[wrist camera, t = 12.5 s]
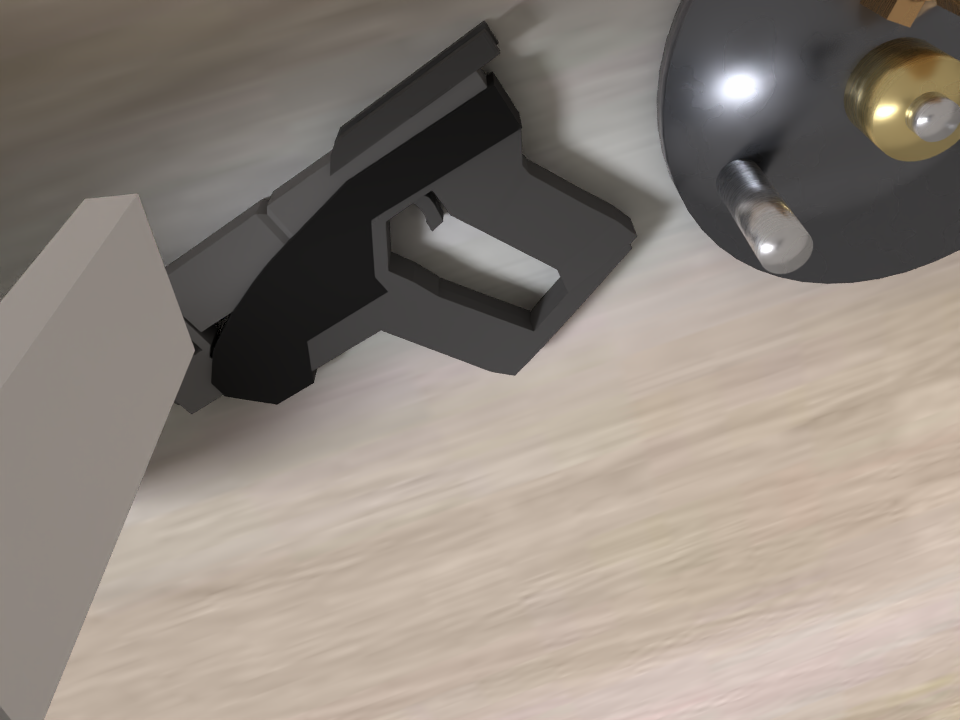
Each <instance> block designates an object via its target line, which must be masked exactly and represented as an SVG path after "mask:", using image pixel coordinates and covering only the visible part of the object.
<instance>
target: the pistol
mask: <svg viewBox="0 0 960 720" xmlns="http://www.w3.org/2000/svg"><path fill="white" fill-rule="evenodd" d="M497 44H498V40H497V39H496V37H495V36H494V34H493V33H492V31H491V30H490V28H489V27H488V25H487V24H486V22H485V21H483V22H481V23H480V24H479V25H477V26H476V27H475V28H473V29H472V30H471V31H469V32H468V33H467V34H465V35H464V36H463V37H461V38H460V39H459V40H457V41H456V42H454V43H453V44H452V45H450V46H449V47H448V48H446V49H445V50H444V51H442V52H441V53H440V54H438V55H437V56H436V57H434V58H433V59H432V60H430V61H429V62H428V63H426V64H425V65H424V66H422V67H421V68H420V69H418V70H417V71H415V72H414V73H413V74H411V75H410V76H409V77H407V78H406V79H405V80H403V81H402V82H401V83H399V84H398V85H397V86H395V87H394V88H393V89H391V90H390V91H389V92H387V93H386V94H385V95H383V96H382V97H381V98H379V99H378V100H376V101H375V102H374V103H372V104H371V105H370V106H368V107H367V108H366V109H364V110H363V111H362V112H360V113H359V114H358V115H356V116H355V117H354V118H352V119H351V120H350V121H348V122H347V123H346V124H344V125H343V126H342V127H340V130H339V132H338V135H337V137H336V140H335V143H334V147H333V149H332V151H330V152H329V153H327V154H326V155H324V156H323V157H322V158H320V159H319V160H317V161H316V162H314V163H313V164H312V165H310V166H309V167H307V168H306V169H305V170H303V171H302V172H300V173H299V174H297V175H296V176H295V177H293V178H292V179H290V180H289V181H287V182H286V183H285V184H283V185H282V186H280V187H279V188H278V189H276V190H275V191H273V193H272V195H271V198H270V200H263V199H262V200H260V201H259V202H258V203H256V204H255V205H253V206H252V207H251V208H249V209H248V210H246V211H245V212H243V213H242V214H241V215H239V216H238V217H236V218H235V219H233V220H232V221H231V222H229V223H228V224H226V225H225V226H224V227H222V228H221V229H219V230H218V231H216V232H215V233H214V234H212V235H211V236H209V237H208V238H206V239H205V240H204V241H202V242H201V243H199V244H198V245H197V246H195V247H194V248H192V249H191V250H189V251H188V252H187V253H185V254H184V255H182V256H181V257H180V258H178V259H177V260H175V261H174V262H172V263H171V264H170V265H168V266H167V267H165V269H166V272H167V275H168V277H169V280H170V283H171V286H172V288H173V291H174V294H175V297H176V299H177V302H178V305H179V308H180V310H181V313H182V316H183V319H184V321H185V324H186V327H187V330H188V332H189V335H190V338H191V341H192V343H193V346H194V349H195V351H194V354H193V356H192V359H191V361H190V364H189V366H188V368H187V371H186V373H185V376H184V378H183V381H182V383H181V386H180V388H179V390H178V393H177V395H176V398H175V400H174V403H175V404H177V405H181V406H182V407H183V408H185V409H186V410H187V411H188V412H189V413H191V414H193V413H194V412H196V411H198V410H199V409H201V408H203V407H204V406H206V405H208V404H209V403H211V402H212V401H214V400H216V399H217V398H219V397H221V396H222V395H224V396H226V397H233V398H239V399H245V400H252V401H258V402H264V403H271V404H279V403H281V402H282V401H284V400H286V399H287V398H289V397H291V396H293V395H294V394H296V393H298V392H299V391H301V390H303V389H304V388H306V387H308V386H309V385H311V384H313V383H314V379H315V375H316V371H317V368H318V367H320V366H322V365H323V364H325V363H327V362H328V361H330V360H332V359H333V358H335V357H337V356H338V355H340V354H342V353H344V352H345V351H347V350H349V349H350V348H352V347H354V346H355V345H357V344H359V343H360V342H362V341H364V340H365V339H367V338H369V337H370V336H372V335H374V334H376V333H377V332H379V331H381V330H382V331H384V332H387V333H390V334H392V335H395V336H398V337H400V338H403V339H406V340H408V341H411V342H414V343H416V344H419V345H422V346H424V347H427V348H429V349H432V350H435V351H437V352H440V353H443V354H445V355H448V356H451V357H453V358H456V359H459V360H461V361H464V362H467V363H469V364H472V365H475V366H477V367H480V368H483V369H485V370H488V371H491V372H496V373H502V374H508V375H514V376H515V375H516V374H517V373H518V372H519V371H520V370H521V369H522V368H523V367H524V366H525V365H526V364H527V363H528V362H529V361H530V360H531V359H532V358H533V357H534V356H535V355H536V354H537V353H538V352H539V350H540V349H541V348H542V347H543V346H544V345H545V344H546V343H547V342H548V341H549V340H550V339H551V338H552V336H553V335H554V334H555V333H556V332H557V331H558V330H559V329H560V328H561V327H562V326H563V325H564V323H565V322H566V321H567V320H568V319H569V318H570V317H571V316H572V315H573V314H574V313H575V311H576V310H577V309H578V308H579V307H580V306H581V305H582V304H583V303H584V302H585V301H586V299H587V298H588V297H589V296H590V295H591V294H592V293H593V291H594V290H595V289H596V288H597V287H598V286H599V285H600V284H601V282H602V281H603V280H604V279H605V278H606V277H607V276H608V275H609V273H610V272H611V271H612V270H613V269H614V268H615V267H616V266H617V265H618V263H619V262H620V261H621V260H622V259H623V258H624V257H625V256H626V254H627V253H628V252H629V251H630V250H631V249H632V246H631V242H632V241H633V240H634V239H635V238H636V237H637V235H636V232H635V230H634V227H633V224H632V222H631V219H630V218H629V217H628V216H626V215H625V214H624V213H622V212H621V211H619V210H618V209H617V208H615V207H614V206H613V205H611V204H609V203H607V202H605V201H603V200H601V199H599V198H598V197H596V196H594V195H592V194H590V193H588V192H586V191H584V190H582V189H580V188H579V187H577V186H575V185H573V184H571V183H570V182H568V181H566V180H564V179H562V178H561V177H559V176H557V175H555V174H553V173H552V172H550V171H548V170H546V169H544V168H542V167H541V166H539V165H537V164H535V163H533V162H532V161H530V160H528V159H526V158H525V156H524V155H523V154H522V140H521V128H522V125H521V119H520V114H519V112H518V110H517V109H516V108H515V106H514V104H513V103H512V101H511V100H510V98H509V96H508V95H507V93H506V92H505V90H504V89H503V87H502V85H501V84H500V82H499V81H498V79H497V77H496V76H495V74H494V73H493V72H492V73H490V74H489V75H487V76H486V75H485V74H484V72H483V71H482V69H481V67H482V66H483V65H485V64H486V63H488V62H489V61H490V60H492V59H493V58H494V57H496V56H497V55H499V54H500V50H499V48H498V47H497ZM431 190H432V191H433V192H434V193H435V195H436V196H437V197H438V199H439V200H440V201H441V203H442V204H443V205H444V206H445V208H446V209H447V211H448V212H449V214H450V215H451V216H453V217H455V218H457V219H459V220H461V221H463V222H465V223H467V224H469V225H471V226H473V227H475V228H477V229H479V230H481V231H483V232H485V233H487V234H489V235H491V236H493V237H495V238H497V239H498V240H500V241H502V242H504V243H506V244H508V245H510V246H512V247H514V248H516V249H518V250H520V251H522V252H524V253H526V254H528V255H530V256H532V257H534V258H536V259H538V260H540V261H542V262H544V263H546V264H547V265H549V266H551V267H553V268H555V269H557V270H558V272H559V274H560V276H561V277H560V278H559V279H558V280H557V281H556V282H555V284H554V285H553V286H552V287H551V288H550V289H549V291H548V292H547V293H546V294H545V295H544V296H543V298H542V299H541V300H540V301H539V302H538V304H537V305H536V306H535V307H534V308H533V309H532V311H528V310H525V309H522V308H520V307H517V306H514V305H512V304H509V303H506V302H504V301H501V300H498V299H496V298H493V297H490V296H487V295H485V294H482V293H479V292H477V291H474V290H471V289H469V288H466V287H463V286H461V285H458V284H455V283H452V282H450V281H447V280H444V279H442V278H439V277H438V276H437V275H435V274H433V273H432V272H430V271H428V270H427V269H425V268H423V267H422V266H420V265H418V264H417V263H415V262H413V261H411V260H408V259H406V258H404V257H402V256H400V255H397V254H395V253H393V252H391V241H390V224H389V219H391V218H392V217H394V216H395V215H396V214H398V213H399V212H401V211H402V210H404V209H405V208H407V207H408V206H410V205H411V204H412V203H413V204H415V205H417V206H418V207H419V208H420V209H421V211H422V212H423V213H424V215H425V217H426V222H427V224H428V226H429V227H430V229H431V230H432V231H433V230H434V229H435V228H437V227H438V226H439V225H440V224H441V223H442V222H443V210H442V208H441V206H440V204H439V202H438V200H437V198H436V196H435V195H434V193H433V192H432V191H431ZM230 313H231V314H230ZM228 314H230V316H229V318H228V319H227V321H226V323H225V325H224V327H223V329H222V331H221V333H220V336H219V338H218V340H217V331H218V328H217V327H216V326H215V325H214V323H216V322H217V321H219V320H221V319H222V318H224V317H225V316H227V315H228ZM213 347H214V350H213ZM212 350H213V355H212V358H211V357H210V354H211V352H212Z"/></svg>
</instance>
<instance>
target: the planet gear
mask: <svg viewBox="0 0 960 720" xmlns="http://www.w3.org/2000/svg"><path fill="white" fill-rule="evenodd" d="M925 1H930V0H861V1H860V4H862V5H863V6H865V7H867V8H868V9H870V10H872V11H873V12H875V13H877V14H878V15H880V16H882V17H883V18H885V19H887V20H890V21H893V22H895V23H898V24H901V25H904V26H907V27H911V25H912V23H913V22H914V20H915V18H916V17H917V15H918V13H919V11H920V10H921V8H922V6H923V5H924V3H925ZM936 4H937V5H938V6H940V7H942V8H944V9H946V10H948V11H950V12H952V13H954V14H956V15H958V16H960V0H936Z"/></svg>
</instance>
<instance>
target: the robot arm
mask: <svg viewBox="0 0 960 720" xmlns="http://www.w3.org/2000/svg"><path fill="white" fill-rule="evenodd" d="M194 351H195V349H194V346H193V343H192V341H191V338H190V335H189V332H188V330H187V327H186V324H185V321H184V319H183V316H182V313H181V310H180V308H179V305H178V302H177V299H176V297H175V294H174V291H173V288H172V286H171V283H170V280H169V277H168V275H167V272H166V269H165V266H164V264H163V261H162V258H161V255H160V253H159V250H158V247H157V244H156V242H155V239H154V236H153V233H152V231H151V228H150V225H149V222H148V220H147V217H146V214H145V212H144V209H143V206H142V203H141V201H140V198H139V195H138V193H136V194H126V195H117V196H107V197H98V198H88V199H84V200H83V202H82V203H81V204H80V205H79V207H78V208H77V209H76V210H75V211H74V213H73V214H72V215H71V216H70V218H69V219H68V220H67V221H66V222H65V224H64V225H63V226H62V227H61V229H60V230H59V231H58V232H57V233H56V235H55V236H54V237H53V238H52V239H51V241H50V242H49V243H48V244H47V246H46V247H45V248H44V249H43V250H42V252H41V253H40V254H39V255H38V257H37V258H36V259H35V260H34V261H33V263H32V264H31V265H30V266H29V268H28V269H27V270H26V271H25V272H24V274H23V275H22V276H21V277H20V279H19V280H18V281H17V282H16V283H15V285H14V286H13V287H12V288H11V290H10V291H9V292H8V293H7V294H6V296H5V297H4V298H3V299H2V301H1V302H0V720H44V718H45V715H46V713H47V711H48V708H49V706H50V703H51V701H52V698H53V696H54V693H55V691H56V689H57V686H58V684H59V681H60V679H61V676H62V674H63V671H64V669H65V667H66V664H67V662H68V659H69V657H70V654H71V652H72V649H73V647H74V645H75V642H76V640H77V637H78V635H79V632H80V630H81V627H82V625H83V623H84V620H85V618H86V615H87V613H88V610H89V608H90V605H91V603H92V601H93V598H94V596H95V593H96V591H97V588H98V586H99V584H100V581H101V579H102V576H103V574H104V571H105V569H106V566H107V564H108V562H109V559H110V557H111V554H112V552H113V549H114V547H115V544H116V542H117V540H118V537H119V535H120V532H121V530H122V527H123V525H124V522H125V520H126V518H127V515H128V513H129V510H130V508H131V505H132V503H133V500H134V498H135V496H136V493H137V491H138V488H139V486H140V483H141V481H142V478H143V476H144V474H145V471H146V469H147V466H148V464H149V461H150V459H151V456H152V454H153V452H154V449H155V447H156V444H157V442H158V439H159V437H160V434H161V432H162V430H163V427H164V425H165V422H166V420H167V417H168V415H169V412H170V410H171V408H172V405H173V403H174V400H175V398H176V395H177V393H178V390H179V388H180V386H181V383H182V381H183V378H184V376H185V373H186V371H187V368H188V366H189V364H190V361H191V359H192V356H193V354H194Z"/></svg>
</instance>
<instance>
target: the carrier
mask: <svg viewBox="0 0 960 720" xmlns="http://www.w3.org/2000/svg"><path fill="white" fill-rule="evenodd" d="M860 1H861V0H682V1H681V3H680V5H679V7H678V9H677V12H676V15H675V17H674V20H673V23H672V26H671V29H670V31H669V34H668V37H667V40H666V44H665V49H664V53H663V58H662V62H661V66H660V71H659V82H658V92H657V120H658V131H659V137H660V142H661V148H662V153H663V156H664V159H665V162H666V165H667V168H668V171H669V174H670V176H671V178H672V180H673V182H674V184H675V186H676V188H677V190H678V192H679V194H680V196H681V198H682V200H683V202H684V204H685V206H686V208H687V210H688V211H689V213H690V214H691V215H692V217H693V218H694V219H695V221H696V222H697V224H698V225H699V226H700V228H701V229H702V230H703V231H704V232H705V233H706V234H707V235H708V236H709V237H710V238H711V239H712V240H713V241H714V242H715V243H716V244H717V245H718V246H719V247H721V248H722V249H724V250H725V251H726V252H728V253H729V254H731V255H732V256H733V257H735V258H736V259H738V260H740V261H742V262H744V263H746V264H748V265H749V266H751V267H753V268H755V269H757V270H760V271H763V272H766V273H769V274H772V275H775V276H778V277H782V278H786V279H791V280H796V281H801V282H812V283H825V284H831V283H854V282H861V281H867V280H874V279H880V278H884V277H888V276H892V275H896V274H900V273H904V272H907V271H910V270H913V269H916V268H918V267H921V266H924V265H927V264H930V263H932V262H935V261H937V260H939V259H941V258H943V257H945V256H948V255H950V254H952V253H954V252H956V251H958V250H960V16H958V15H956V14H954V13H952V12H950V11H948V10H946V9H944V8H942V7H940V6H938V5H937V4H936V0H930V1H925V3H924V5H923V6H922V8H921V10H920V11H919V13H918V15H917V17H916V18H915V20H914V22H913V23H912V25H911V27H907V26H904V25H901V24H898V23H895V22H893V21H890V20H887V19H885V18H883V17H882V16H880V15H878V14H877V13H875V12H873V11H872V10H870V9H868V8H867V7H865V6H863V5H862V4H860Z"/></svg>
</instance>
